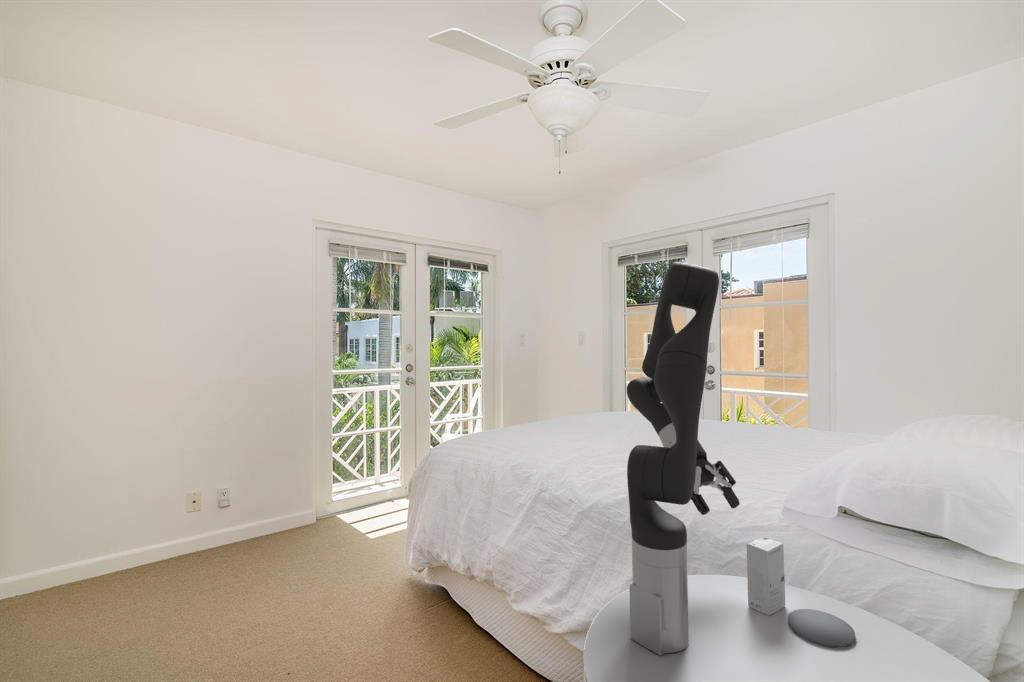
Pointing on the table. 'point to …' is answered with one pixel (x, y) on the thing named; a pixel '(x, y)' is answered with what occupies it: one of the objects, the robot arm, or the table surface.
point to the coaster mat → (821, 628)
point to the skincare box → (765, 575)
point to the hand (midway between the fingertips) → (721, 509)
